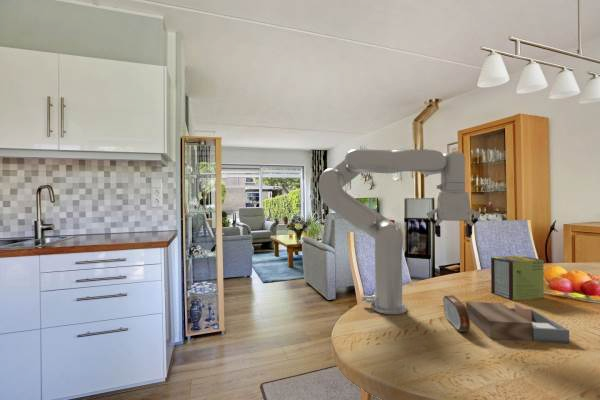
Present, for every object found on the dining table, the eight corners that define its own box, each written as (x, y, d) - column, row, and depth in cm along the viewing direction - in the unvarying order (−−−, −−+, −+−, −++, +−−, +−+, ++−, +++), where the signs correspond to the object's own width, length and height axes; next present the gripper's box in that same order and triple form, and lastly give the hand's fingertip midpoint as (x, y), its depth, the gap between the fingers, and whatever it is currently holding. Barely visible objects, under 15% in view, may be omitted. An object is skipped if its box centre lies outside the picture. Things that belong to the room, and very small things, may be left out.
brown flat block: (490, 338, 84) (490, 321, 84) (466, 316, 99) (466, 301, 99) (532, 340, 82) (532, 323, 82) (501, 318, 98) (501, 303, 98)
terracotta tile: (524, 309, 91) (531, 309, 91) (514, 303, 96) (521, 303, 96) (524, 325, 91) (531, 325, 91) (514, 318, 96) (521, 318, 96)
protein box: (544, 298, 118) (544, 259, 118) (513, 301, 114) (512, 261, 114) (519, 290, 128) (519, 254, 128) (490, 292, 125) (490, 256, 125)
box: (533, 341, 82) (533, 328, 82) (502, 318, 98) (502, 307, 98) (569, 343, 81) (569, 330, 81) (531, 319, 97) (531, 308, 97)
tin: (471, 337, 85) (470, 308, 85) (459, 336, 85) (459, 307, 85) (451, 316, 99) (451, 291, 99) (441, 316, 100) (441, 291, 100)
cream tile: (560, 330, 83) (560, 337, 83) (547, 323, 88) (547, 329, 88) (540, 329, 83) (540, 336, 83) (529, 322, 88) (529, 328, 88)
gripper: (428, 188, 101) (429, 237, 101) (484, 187, 97) (484, 238, 97) (424, 188, 108) (424, 235, 108) (475, 188, 105) (476, 236, 105)
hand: (453, 236), depth 103 cm, fingers open, 9 cm apart
